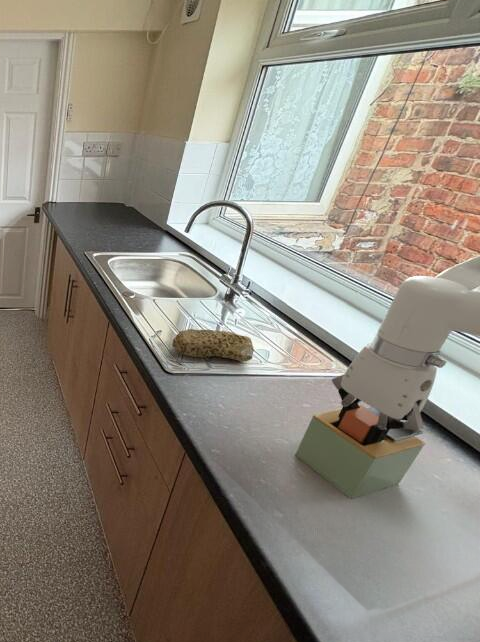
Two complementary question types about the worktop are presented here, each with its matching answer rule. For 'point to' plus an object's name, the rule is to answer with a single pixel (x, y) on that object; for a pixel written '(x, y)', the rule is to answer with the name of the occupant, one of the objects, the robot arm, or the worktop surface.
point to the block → (358, 423)
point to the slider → (397, 433)
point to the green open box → (355, 456)
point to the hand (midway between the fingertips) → (357, 431)
